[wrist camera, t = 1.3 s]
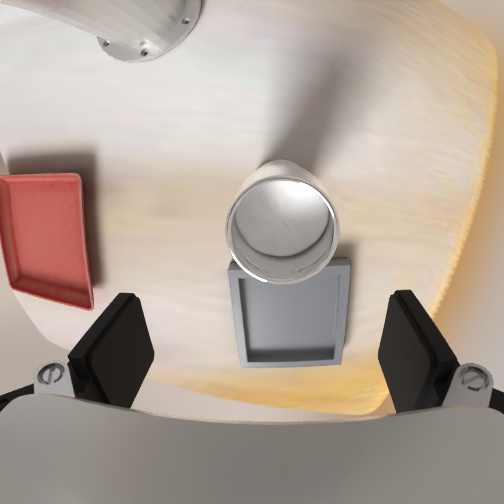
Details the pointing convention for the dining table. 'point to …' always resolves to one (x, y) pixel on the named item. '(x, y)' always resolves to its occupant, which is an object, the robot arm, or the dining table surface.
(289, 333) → the serving tray
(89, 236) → the dining table surface
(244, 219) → the beer glass
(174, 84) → the dining table surface
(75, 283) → the plant saucer
